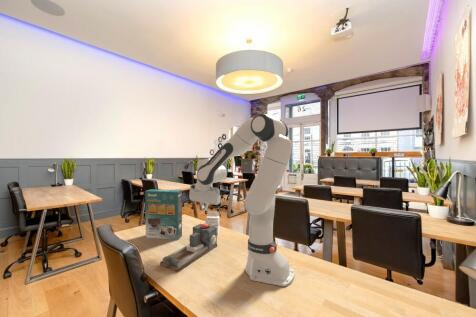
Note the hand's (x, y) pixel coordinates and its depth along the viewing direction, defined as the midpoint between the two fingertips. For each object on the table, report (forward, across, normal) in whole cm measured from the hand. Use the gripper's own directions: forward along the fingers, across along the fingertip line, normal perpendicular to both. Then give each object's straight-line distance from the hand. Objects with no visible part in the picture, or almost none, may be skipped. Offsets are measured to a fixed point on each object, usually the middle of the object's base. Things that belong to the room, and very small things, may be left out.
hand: (204, 210), depth 125 cm
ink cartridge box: (+22, +8, -18) cm, 30 cm away
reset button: (+10, 0, 0) cm, 10 cm away
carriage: (+20, 0, +9) cm, 22 cm away
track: (+21, -1, +12) cm, 24 cm away
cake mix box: (+22, +32, +2) cm, 39 cm away
